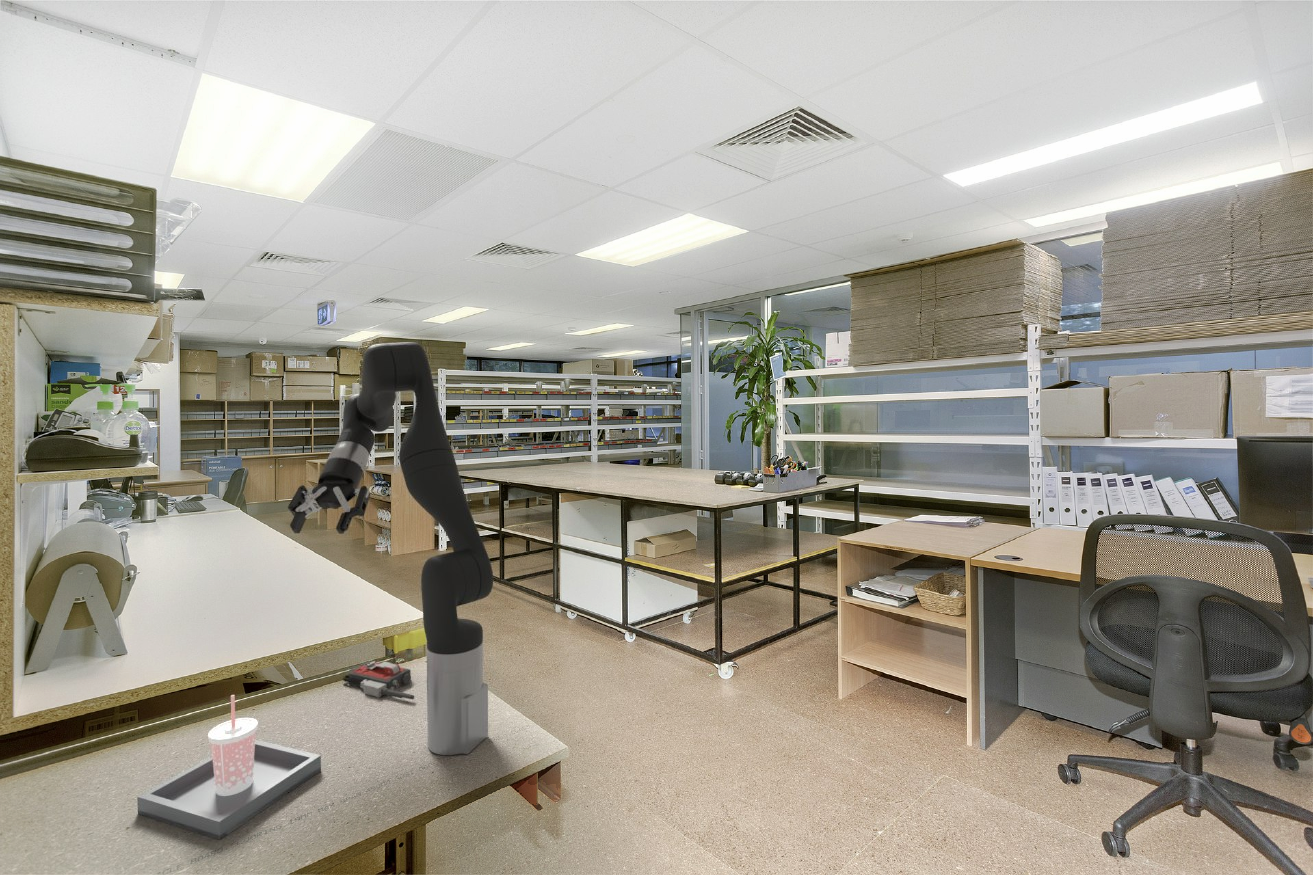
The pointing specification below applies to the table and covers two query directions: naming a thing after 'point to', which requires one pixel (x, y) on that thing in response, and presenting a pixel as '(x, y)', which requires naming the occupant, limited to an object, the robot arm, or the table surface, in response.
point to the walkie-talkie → (380, 679)
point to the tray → (216, 816)
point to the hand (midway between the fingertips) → (317, 531)
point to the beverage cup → (233, 753)
